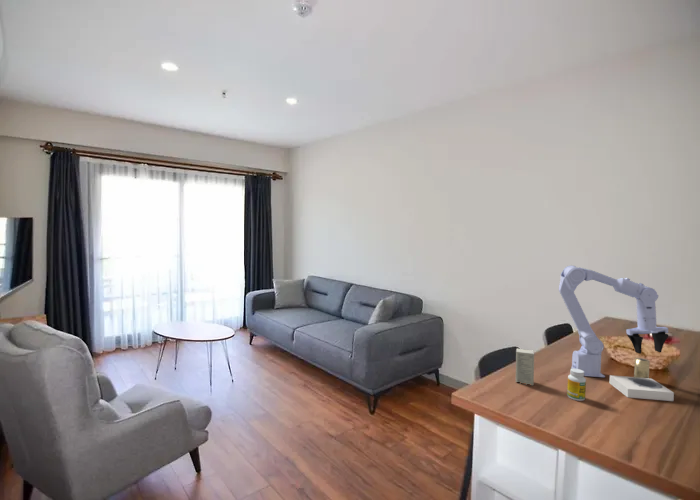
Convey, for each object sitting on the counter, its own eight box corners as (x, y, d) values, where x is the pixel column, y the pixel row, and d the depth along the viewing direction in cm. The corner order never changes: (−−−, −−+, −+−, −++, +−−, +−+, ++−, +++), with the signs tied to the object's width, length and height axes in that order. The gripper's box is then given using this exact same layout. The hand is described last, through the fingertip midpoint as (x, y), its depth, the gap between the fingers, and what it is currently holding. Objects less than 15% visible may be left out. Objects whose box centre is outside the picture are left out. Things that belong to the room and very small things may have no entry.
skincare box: (533, 381, 139) (534, 350, 138) (533, 386, 135) (535, 353, 134) (515, 378, 141) (516, 347, 141) (514, 382, 137) (516, 351, 137)
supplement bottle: (571, 392, 129) (572, 366, 129) (588, 398, 125) (589, 371, 124) (563, 396, 126) (565, 369, 126) (580, 402, 122) (581, 374, 121)
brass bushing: (638, 381, 140) (639, 361, 139) (631, 377, 144) (632, 357, 144) (651, 382, 139) (652, 362, 139) (643, 378, 143) (645, 358, 143)
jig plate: (627, 397, 126) (628, 388, 126) (609, 383, 138) (609, 375, 138) (673, 401, 124) (673, 392, 124) (650, 386, 136) (651, 378, 136)
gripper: (635, 320, 136) (637, 356, 137) (674, 318, 136) (676, 354, 137) (621, 316, 144) (623, 350, 144) (658, 314, 143) (660, 348, 144)
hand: (648, 352), depth 141 cm, fingers open, 7 cm apart
